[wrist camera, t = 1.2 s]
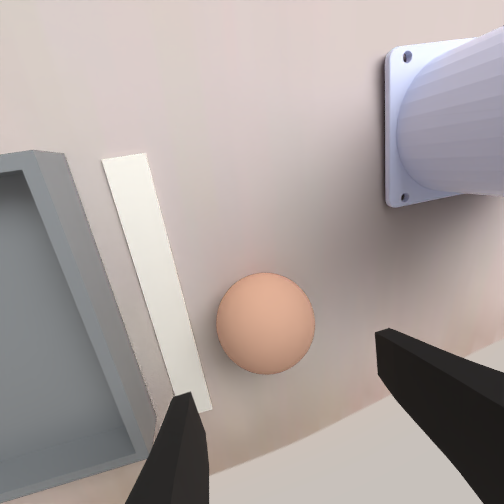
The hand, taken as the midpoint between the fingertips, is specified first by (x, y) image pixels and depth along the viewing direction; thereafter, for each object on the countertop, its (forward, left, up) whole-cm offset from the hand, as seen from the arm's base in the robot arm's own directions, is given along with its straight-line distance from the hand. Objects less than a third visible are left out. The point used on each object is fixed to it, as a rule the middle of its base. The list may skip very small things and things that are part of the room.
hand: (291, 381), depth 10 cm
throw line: (+5, -1, -7) cm, 8 cm away
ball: (0, 0, -4) cm, 4 cm away
